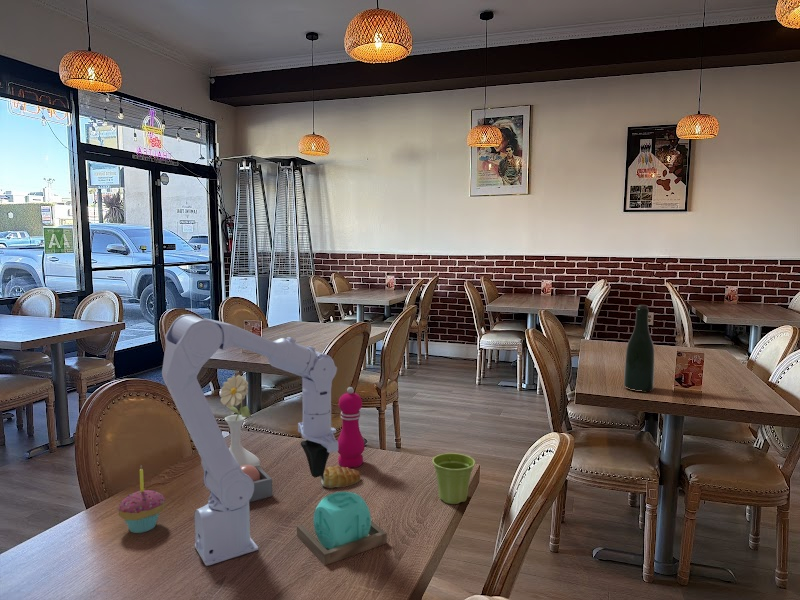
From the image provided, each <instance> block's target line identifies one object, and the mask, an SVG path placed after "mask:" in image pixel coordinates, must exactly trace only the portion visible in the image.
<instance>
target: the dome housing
mask: <svg viewBox="0 0 800 600" xmlns="http://www.w3.org/2000/svg"><path fill="white" fill-rule="evenodd" d="M254 467H255V468H256V469H257V470H258V472H259V474H260V480H259V481H255V482H253V483H254V492H253V495H252V497H251V499H250V500H249V503H252V502H255V501H259V500H262V499H266V498H270V497H273V478H272V477H271V476H270V475H269V474H268V473H266V472H265V470H263V468H261V466H254Z"/></svg>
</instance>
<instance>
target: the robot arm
mask: <svg viewBox="0 0 800 600" xmlns="http://www.w3.org/2000/svg"><path fill="white" fill-rule="evenodd" d="M164 341H165V347H164V355H163V361H162V369H161V376H162V379H163V382H164V383H165V385H166V388H167V390H168V392H169V394H170V397H171V398H172V400H173V403H174V404H175V406H176V410H177V411H178V413H179V415H180V418H181V419H182V422H183V423H184V425H185V428H186V430H187V432H188V433H189V436H190V438H191V440H192V442H193V444H194V447H195V448H196V451H197V453H198V454H199V457H200V459H201V462H200V464H201V466H202V469H203V482H204V486H205V487H206V489H207V490H208V491H209V492H210V494H209V496H208V501H207V502H208V503H207V504H205V505H204V506H201V507H200V508H196V509H195V512H194V536H195V540H194V542H195V543H194V548H195V550H196V551H197V553H198V555H199V556H200V558H201V560H202V562H203V563H204V565H205V566H207V567H208V566H211V565H214V564H218V563H221V562H224V561H227V560H230V559H234V558H237V557H240V556H243V555H246V554H249V553H252V552H255V551H258V549H259V547H258V545H257V543H255V542H254V540H253V539H252V538H251V522H250V521H251V520H250V517H251V516H250V502H249V500H250V499H251V497H252V495H253V492H254V483H253V480H252V479H251V478H250V477H249V476H248V475H247V474H245V473H244V472H243V471H242V469H241V467H240V465H239V464H238V462H237V461H236V459H235V458H234V457H233V455H232V454H231V452H230V450H229V448H230V447H229V445H228V443H227V441H226V439H225V437H224V435H223V433H222V431H221V429H220V427H219V424H218V422H217V420H216V417H215V416H214V414H213V411H212V409H211V406H210V404H209V402H208V399H207V398H206V396H205V394H204V392H203V389H202V386H201V385H200V382H199V381H198V378H197V377H198V374H199V373H200V371H201V370H202V368H203V366H204V365H205V364H206V363H207V362H208V361H209V360H210V359H211V357H213V356H214V355H215V353H216V352H218V350H221V351H225V350H227V349H229V348H230V349H231V348H232V347H236V348H240V349H242V350H245V351H248V352H251V353H255V354H258V355H260V356H263V357H266V358H267V361H268V363H269V365H270V366H271V367H274V368H276V369H279V370H282V371H284V372H287V373H291V374H294V375H296V376H299V377H300V378H301V377H302V378H301V379H302V380H301V381H302V386H301V387H302V422H298V423H297V432H298V433H299V434H300V435H301V438H302V439H304V440H302V441H300V446H301V448H302V449H303V451H304V453H305V457H306V460H307V463H308V467H309V472H310V474H311V477H313V478H320V476H323V474H324V471H325V468H326V466H327V461H328V459H329V457H330V454H331V453H336V452H337V451H338V439H336V437H335V435H334V434H336V433H337V429H336V428H335V427H332V387H333V379H334V378H335V377H336V374H337V373H338V366H336V365H335V361H334V360H333V358H332V356H330V355H328V354H325V353H323V352H320V351H316V348H315V347H313V346H311V345H309V346H307V347H306V346H304V345H302V344H299V343H297V342H296V339H295V338H292V337H290V336H287V337H286V338H284V337H280V338H278V339H275V340H273V341H272V340H270V339H269V338H265V337H263V336H261V335H258V334H256V333H254V332H251V331H249V330H246V329H244V328H241V327H239V326H237V325H234V324H231V323H228V322H223V321H220V320H214V319H211V318H206V317H203V318H201V317H199V316H197V315H195V314H191V313H189V314H188V313H186V314H182V315H179V316H178V317H177V318H176V319H174V320H173V322H172V323H171V325H170V327H169V329H168V330H167V332H166V333H165V335H164Z"/></svg>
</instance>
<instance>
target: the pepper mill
mask: <svg viewBox="0 0 800 600" xmlns="http://www.w3.org/2000/svg"><path fill="white" fill-rule="evenodd" d="M338 407H339V410H340V411H341V412H340V418H341V420H342V425H341V430H340V433H339V436H338V438H337V441H338V451H337V452H338V454H339V455H338V459H337V460H338V461H337V462H338V466H339V467H348V468H350V469H352V468H351V467H354V468H357V467H361V466H362V465H363V464H362V463H364V456H363V453H364V452H365V441H364V437H363V435H362V433H361V430H360V425H359V423H360V422H359V420H360V418H361V411H360V410H361V408H362V407H363V399H362V397H361V396H360V395H359V394H358V393H356V392H355V390H354V388H353V387H352V386H348V387H347V390H346V393H343V394H342V395H341V396H340V397H339V399H338ZM361 464H362V465H361Z"/></svg>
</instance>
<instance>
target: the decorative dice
mask: <svg viewBox="0 0 800 600" xmlns="http://www.w3.org/2000/svg"><path fill="white" fill-rule="evenodd" d="M371 521H372V517H371V512H370V508H369V506H368V504H367V503H366V501H365V500H364V498H363V497H362V496H360V495H359V494H357V493H355V492H350V491H336V492H333V493H330V494H328V495H327V494H326V496H324V497H323V498H322V499H321V500H320V501H319V502H318V504H317V506H316V507H315V510H314V513H313V527H314V531H315V535H316V537H317V540H318V541H319V542H320V543H321V544H322V545H323V546H324V547H325V548H326V549H327V550H330V549H333V548H336V547H338V546H341V545H344V544H347V543H350V542H353V541H356V540H359V539H362V538H365V537H368V536H369V530H370V527H371Z"/></svg>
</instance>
